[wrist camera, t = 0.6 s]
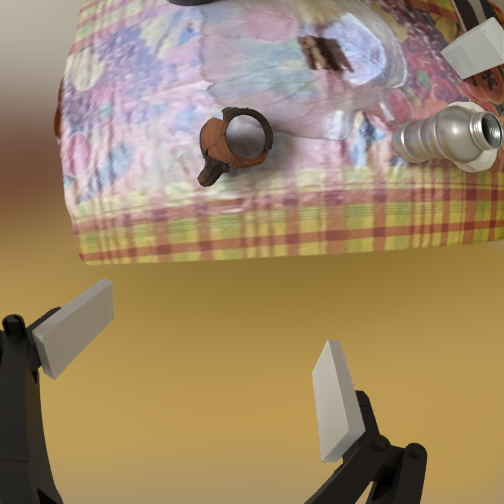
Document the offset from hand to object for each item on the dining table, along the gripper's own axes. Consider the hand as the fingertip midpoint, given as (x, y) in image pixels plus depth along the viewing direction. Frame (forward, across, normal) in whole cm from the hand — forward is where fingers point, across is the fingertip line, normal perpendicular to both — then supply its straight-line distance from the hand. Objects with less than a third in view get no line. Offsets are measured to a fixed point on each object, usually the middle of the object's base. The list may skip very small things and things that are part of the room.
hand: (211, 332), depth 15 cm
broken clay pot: (+26, -6, +11) cm, 29 cm away
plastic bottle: (+26, +19, +20) cm, 38 cm away
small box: (+26, +29, +42) cm, 57 cm away
